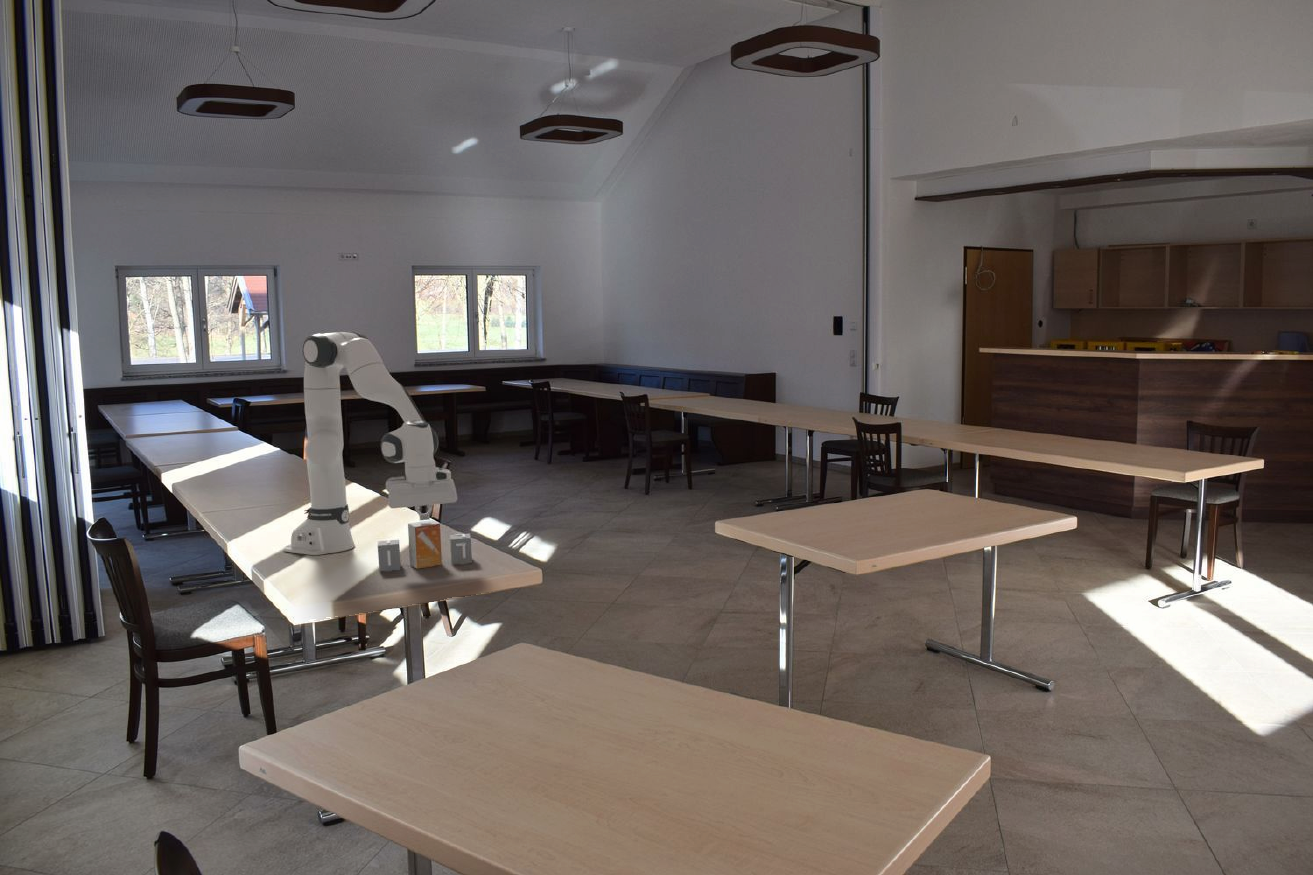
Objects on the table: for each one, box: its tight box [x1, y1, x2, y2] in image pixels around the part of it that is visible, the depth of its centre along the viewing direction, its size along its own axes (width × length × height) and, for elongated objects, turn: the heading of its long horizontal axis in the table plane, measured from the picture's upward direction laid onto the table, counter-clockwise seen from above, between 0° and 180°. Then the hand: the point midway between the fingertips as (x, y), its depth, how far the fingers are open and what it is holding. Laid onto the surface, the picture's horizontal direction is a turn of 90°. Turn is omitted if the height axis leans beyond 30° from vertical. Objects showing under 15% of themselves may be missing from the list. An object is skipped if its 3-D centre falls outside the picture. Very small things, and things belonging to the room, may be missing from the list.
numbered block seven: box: [449, 533, 473, 565], centre depth 296 cm, size 6×6×8 cm
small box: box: [407, 519, 443, 570], centre depth 294 cm, size 8×6×13 cm
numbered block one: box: [377, 539, 402, 573], centre depth 291 cm, size 6×6×8 cm
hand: (424, 519), depth 293 cm, fingers closed
